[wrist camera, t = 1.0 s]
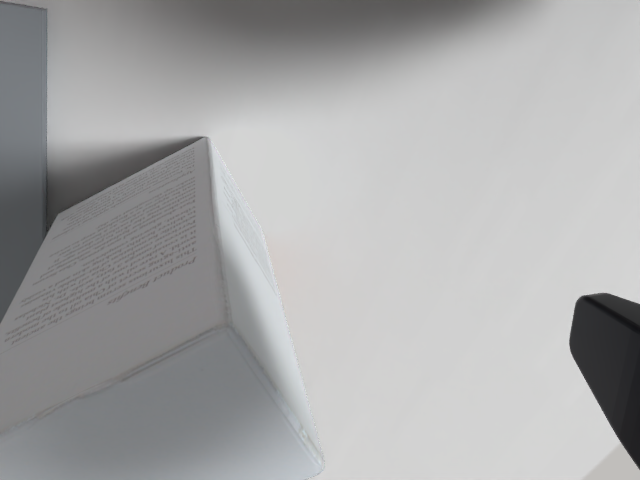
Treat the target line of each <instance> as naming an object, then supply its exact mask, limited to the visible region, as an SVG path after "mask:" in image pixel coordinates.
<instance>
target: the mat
mask: <svg viewBox="0 0 640 480" xmlns="http://www.w3.org/2000/svg"><path fill="white" fill-rule="evenodd" d="M46 185H47V9H44V8H38V7H32V6H26V5H20V4H14V3H8V2H2V1H0V323H1V322H2V320H3V318H4V316H5V314H6V312H7V310H8V308H9V306H10V304H11V303H12V301H13V299H14V297H15V295H16V293H17V291H18V289H19V287H20V286H21V284H22V282H23V280H24V278H25V276H26V274H27V272H28V270H29V268H30V266H31V264H32V262H33V260H34V258H35V256H36V254H37V252H38V250H39V249H40V247H41V245H42V243H43V241H44V239H45V237H46Z"/></svg>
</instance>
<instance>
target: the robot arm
mask: <svg viewBox="0 0 640 480" xmlns="http://www.w3.org/2000/svg"><path fill="white" fill-rule="evenodd" d="M569 344H570V351H571V354H572V356H573V358H574V360H575V362H576V364H577V365H578V367H579V369H580V371H581V373H582V374H583V376H584V378H585V380H586V382H587V383H588V385H589V387H590V389H591V391H592V393H593V394H594V396H595V398H596V400H597V402H598V403H599V405H600V407H601V409H602V411H603V412H604V414H605V416H606V418H607V420H608V421H609V423H610V425H611V427H612V428H613V430H614V432H615V433H616V435H617V437H618V438H619V440H620V442H621V443H622V445H623V446H624V448H625V449H626V450H627V452H628V454H629V455H630V456H631V458H632V459H633V461H634V462H635V464H636V465H637V467H638V468H639V470H640V304H638V303H635V302H632V301H629V300H626V299H623V298H620V297H617V296H614V295H611V294H608V293H598V294H591V295H584V296H581V297H580V298H579V299H578V300H577V302H576V304H575V309H574V315H573V321H572V327H571V333H570V340H569Z"/></svg>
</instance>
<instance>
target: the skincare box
mask: <svg viewBox="0 0 640 480" xmlns="http://www.w3.org/2000/svg"><path fill="white" fill-rule="evenodd" d="M324 468H325V462H324V456H323V453H322V449H321V445H320V442H319V438H318V434H317V431H316V427H315V423H314V419H313V416H312V412H311V409H310V405H309V401H308V398H307V394H306V390H305V387H304V383H303V379H302V375H301V371H300V368H299V364H298V360H297V357H296V353H295V350H294V346H293V342H292V339H291V335H290V331H289V328H288V324H287V320H286V316H285V312H284V309H283V305H282V301H281V298H280V294H279V290H278V286H277V282H276V279H275V275H274V271H273V268H272V264H271V260H270V257H269V253H268V249H267V245H266V242H265V238H264V234H263V230H262V228H261V227H260V225H259V223H258V221H257V220H256V218H255V216H254V214H253V213H252V211H251V209H250V207H249V206H248V204H247V202H246V200H245V198H244V197H243V195H242V193H241V191H240V190H239V188H238V186H237V184H236V182H235V181H234V179H233V177H232V175H231V173H230V172H229V170H228V168H227V166H226V165H225V163H224V161H223V159H222V158H221V156H220V154H219V152H218V151H217V149H216V147H215V145H214V144H213V142H212V141H211V139H210V138H209V137H204V138H202V139H200V140H198V141H196V142H195V143H193V144H191V145H189V146H187V147H185V148H183V149H181V150H179V151H177V152H175V153H173V154H172V155H170V156H168V157H166V158H164V159H162V160H160V161H158V162H156V163H154V164H152V165H150V166H148V167H147V168H145V169H143V170H141V171H139V172H137V173H135V174H133V175H131V176H129V177H128V178H126V179H124V180H122V181H120V182H118V183H116V184H114V185H112V186H110V187H108V188H106V189H105V190H103V191H101V192H99V193H97V194H95V195H93V196H91V197H90V198H88V199H86V200H84V201H82V202H80V203H78V204H76V205H74V206H72V207H70V208H69V209H67V210H64V211H62V212H61V213H59V214H58V215H57V216H56V218H55V220H54V222H53V224H52V226H51V228H50V230H49V231H48V234H47V235H46V237H45V239H44V241H43V243H42V245H41V247H40V249H39V250H38V252H37V254H36V256H35V258H34V260H33V262H32V264H31V266H30V268H29V270H28V272H27V274H26V276H25V278H24V280H23V282H22V284H21V286H20V287H19V289H18V291H17V293H16V295H15V297H14V299H13V301H12V303H11V304H10V306H9V308H8V310H7V312H6V314H5V316H4V318H3V320H2V322H1V323H0V480H307V479H309V478H311V477H314V476H316V475H318V474H320V473H321V472H322V471H323V470H324Z"/></svg>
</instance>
